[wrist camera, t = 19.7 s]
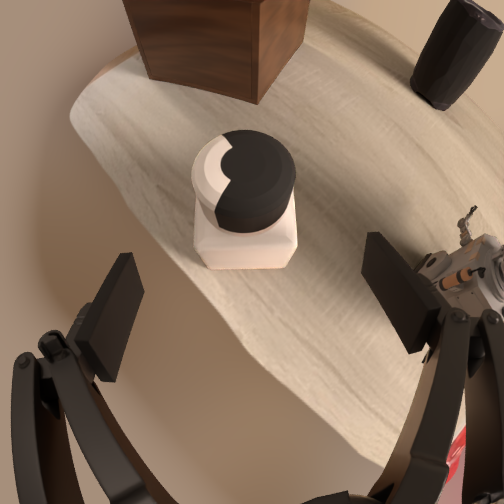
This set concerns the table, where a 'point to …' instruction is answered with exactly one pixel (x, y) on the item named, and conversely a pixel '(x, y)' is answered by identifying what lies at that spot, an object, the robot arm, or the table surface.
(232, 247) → the medicine bottle
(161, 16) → the chest
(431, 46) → the portable speaker
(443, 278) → the figurine
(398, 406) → the table surface
